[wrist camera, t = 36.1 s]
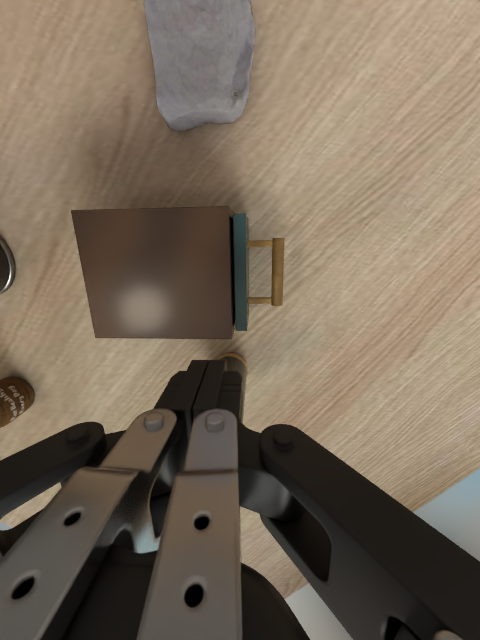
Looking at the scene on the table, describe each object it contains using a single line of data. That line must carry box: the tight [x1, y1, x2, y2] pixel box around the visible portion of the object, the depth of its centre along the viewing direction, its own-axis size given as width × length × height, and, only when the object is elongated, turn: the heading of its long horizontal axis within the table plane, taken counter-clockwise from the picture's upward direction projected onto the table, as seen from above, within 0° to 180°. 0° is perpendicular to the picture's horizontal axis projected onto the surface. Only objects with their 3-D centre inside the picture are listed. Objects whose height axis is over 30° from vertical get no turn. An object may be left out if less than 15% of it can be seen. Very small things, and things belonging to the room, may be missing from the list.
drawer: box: [233, 214, 284, 331], centre depth 30 cm, size 17×11×7 cm, turn 91°
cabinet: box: [71, 206, 235, 339], centre depth 30 cm, size 15×13×9 cm
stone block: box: [144, 0, 255, 131], centre depth 26 cm, size 12×5×10 cm
